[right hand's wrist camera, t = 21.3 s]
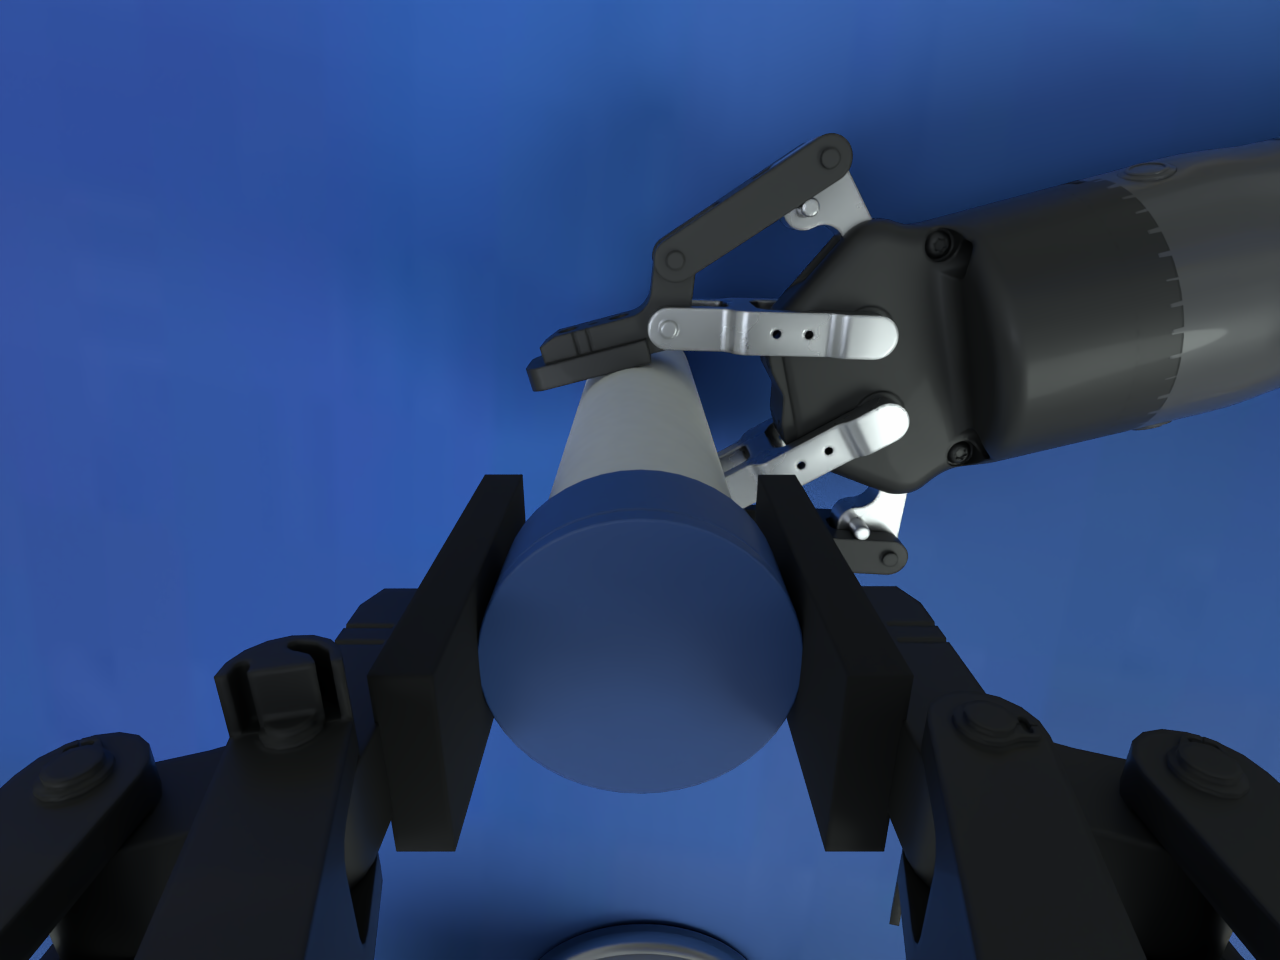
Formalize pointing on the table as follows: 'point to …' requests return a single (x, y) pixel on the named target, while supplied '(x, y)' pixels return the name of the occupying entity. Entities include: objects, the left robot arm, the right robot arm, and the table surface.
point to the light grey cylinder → (642, 426)
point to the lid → (640, 635)
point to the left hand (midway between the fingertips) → (557, 443)
